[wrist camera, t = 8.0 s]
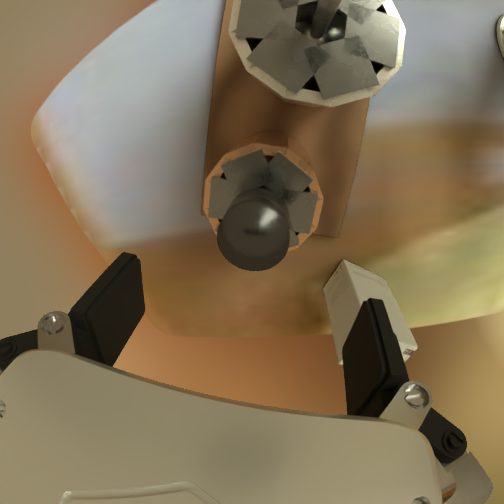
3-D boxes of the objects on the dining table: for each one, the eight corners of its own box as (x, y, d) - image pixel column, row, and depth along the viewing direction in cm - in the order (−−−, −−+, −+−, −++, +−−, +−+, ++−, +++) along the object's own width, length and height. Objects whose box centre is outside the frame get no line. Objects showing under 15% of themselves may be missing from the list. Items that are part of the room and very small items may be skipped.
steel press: (360, 14, 23) (410, -42, 9) (345, 114, 30) (395, 123, 15) (265, -3, 24) (246, -74, 9) (250, 97, 30) (217, 90, 16)
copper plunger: (303, 155, 29) (316, 198, 16) (292, 211, 32) (294, 291, 19) (242, 145, 30) (204, 180, 16) (235, 201, 33) (198, 274, 19)
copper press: (317, 139, 32) (333, 158, 21) (299, 231, 37) (302, 289, 26) (235, 126, 32) (207, 138, 21) (224, 219, 38) (198, 270, 27)
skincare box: (322, 287, 42) (331, 365, 29) (343, 255, 40) (365, 328, 27) (366, 307, 43) (386, 381, 30) (389, 278, 40) (420, 349, 27)
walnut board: (378, 15, 24) (380, 13, 23) (336, 234, 38) (338, 238, 37) (230, -9, 24) (228, -13, 23) (203, 211, 39) (200, 214, 38)
